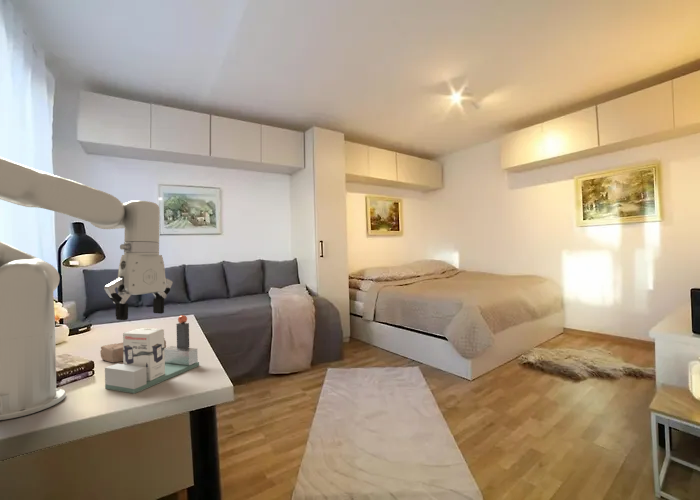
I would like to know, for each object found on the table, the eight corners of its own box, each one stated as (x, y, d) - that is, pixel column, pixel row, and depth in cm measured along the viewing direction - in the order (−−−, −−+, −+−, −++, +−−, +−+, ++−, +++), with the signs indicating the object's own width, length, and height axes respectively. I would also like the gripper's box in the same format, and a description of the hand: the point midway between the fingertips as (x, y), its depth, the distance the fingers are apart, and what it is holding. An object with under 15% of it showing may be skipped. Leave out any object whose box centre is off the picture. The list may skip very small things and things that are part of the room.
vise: (134, 393, 73) (133, 371, 73) (105, 388, 77) (104, 367, 77) (199, 365, 91) (198, 348, 91) (173, 362, 95) (172, 345, 95)
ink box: (122, 379, 80) (121, 332, 80) (139, 372, 84) (138, 327, 85) (150, 381, 78) (149, 333, 78) (166, 373, 82) (165, 328, 83)
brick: (154, 346, 114) (153, 333, 114) (167, 349, 109) (167, 335, 109) (99, 361, 99) (98, 346, 99) (112, 365, 95) (112, 349, 95)
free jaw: (189, 365, 88) (187, 317, 88) (162, 362, 91) (161, 316, 91) (200, 360, 92) (199, 315, 92) (174, 357, 95) (173, 313, 95)
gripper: (117, 248, 72) (116, 323, 72) (181, 250, 88) (180, 311, 88) (95, 248, 75) (94, 321, 74) (161, 250, 91) (161, 310, 90)
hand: (141, 316), depth 81 cm, fingers open, 9 cm apart
